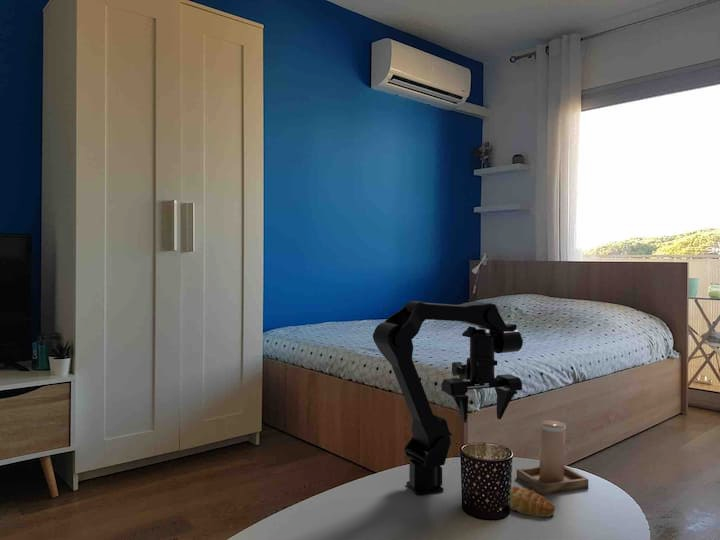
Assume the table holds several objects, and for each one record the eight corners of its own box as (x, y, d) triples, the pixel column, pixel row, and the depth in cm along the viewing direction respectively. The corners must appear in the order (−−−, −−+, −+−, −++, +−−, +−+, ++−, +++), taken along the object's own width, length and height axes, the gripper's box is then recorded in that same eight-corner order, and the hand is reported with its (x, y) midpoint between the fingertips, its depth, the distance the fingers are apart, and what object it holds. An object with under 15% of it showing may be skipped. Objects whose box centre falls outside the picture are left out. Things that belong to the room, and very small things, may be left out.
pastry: (559, 511, 115) (559, 492, 115) (547, 523, 110) (547, 504, 110) (516, 498, 121) (516, 481, 121) (502, 509, 116) (502, 491, 116)
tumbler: (554, 486, 125) (556, 428, 125) (533, 478, 130) (535, 422, 129) (569, 481, 129) (571, 424, 128) (548, 473, 133) (550, 418, 133)
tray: (542, 494, 123) (542, 485, 123) (516, 477, 132) (516, 469, 132) (588, 488, 126) (588, 479, 126) (559, 471, 136) (560, 463, 136)
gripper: (498, 347, 144) (498, 408, 144) (431, 351, 138) (431, 414, 139) (523, 355, 133) (523, 420, 133) (452, 359, 127) (452, 428, 128)
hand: (481, 420), depth 134 cm, fingers open, 9 cm apart
